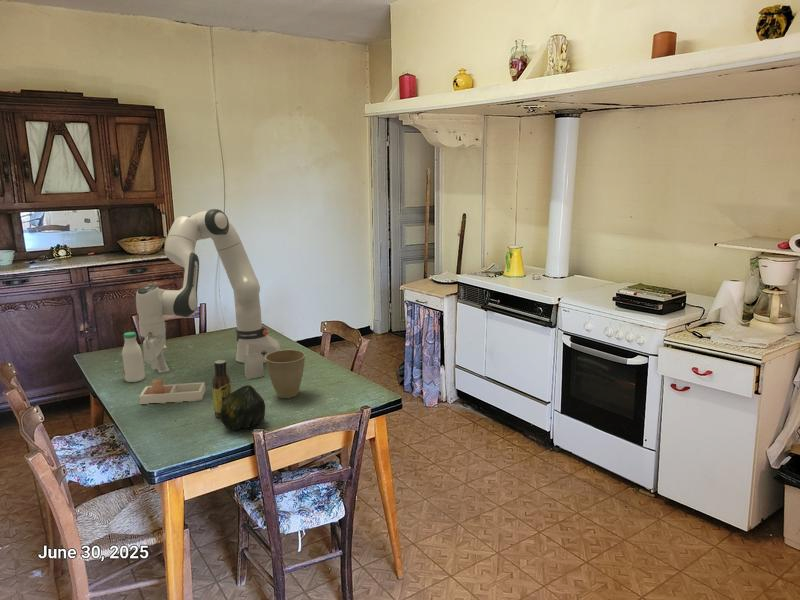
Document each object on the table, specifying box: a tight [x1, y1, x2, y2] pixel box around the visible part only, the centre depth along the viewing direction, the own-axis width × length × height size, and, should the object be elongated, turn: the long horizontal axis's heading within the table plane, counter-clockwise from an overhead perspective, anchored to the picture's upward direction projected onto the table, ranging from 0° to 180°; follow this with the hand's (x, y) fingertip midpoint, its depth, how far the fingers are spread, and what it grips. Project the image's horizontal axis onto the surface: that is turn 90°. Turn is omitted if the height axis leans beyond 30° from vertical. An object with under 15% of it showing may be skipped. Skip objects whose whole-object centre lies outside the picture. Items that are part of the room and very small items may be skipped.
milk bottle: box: [121, 331, 146, 383], centre depth 250 cm, size 8×8×20 cm
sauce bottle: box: [212, 359, 232, 418], centre depth 214 cm, size 6×6×20 cm
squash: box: [220, 384, 266, 431], centre depth 207 cm, size 14×15×15 cm
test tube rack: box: [156, 344, 171, 374], centre depth 270 cm, size 25×4×13 cm, turn 28°
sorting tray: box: [138, 381, 206, 405], centre depth 232 cm, size 22×10×4 cm, turn 99°
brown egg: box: [151, 378, 165, 394], centre depth 231 cm, size 4×4×6 cm
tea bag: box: [243, 353, 265, 380], centre depth 252 cm, size 4×7×10 cm, turn 121°
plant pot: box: [265, 349, 306, 399], centre depth 232 cm, size 15×15×16 cm
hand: (157, 364), depth 229 cm, fingers open, 8 cm apart
